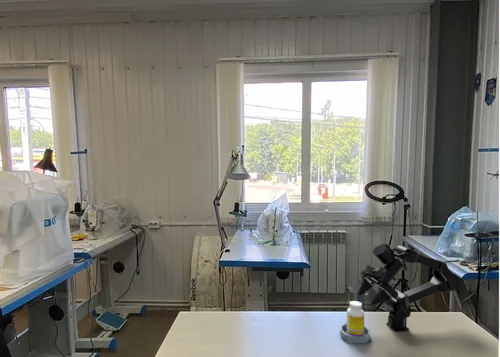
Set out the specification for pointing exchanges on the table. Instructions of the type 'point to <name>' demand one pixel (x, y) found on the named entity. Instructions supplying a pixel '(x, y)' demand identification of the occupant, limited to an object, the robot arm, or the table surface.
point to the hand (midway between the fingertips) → (365, 299)
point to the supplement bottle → (355, 319)
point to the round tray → (353, 338)
